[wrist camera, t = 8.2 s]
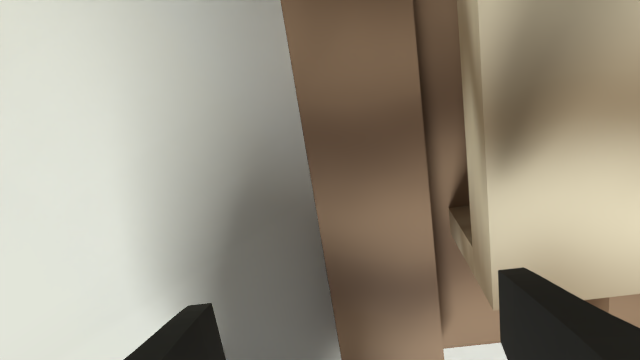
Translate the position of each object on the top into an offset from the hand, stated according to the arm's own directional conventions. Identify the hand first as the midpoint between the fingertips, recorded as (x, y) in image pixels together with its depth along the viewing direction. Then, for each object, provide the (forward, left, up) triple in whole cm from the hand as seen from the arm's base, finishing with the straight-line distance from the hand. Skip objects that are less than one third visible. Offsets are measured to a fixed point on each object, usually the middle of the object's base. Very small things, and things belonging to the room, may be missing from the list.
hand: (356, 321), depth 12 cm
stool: (+5, -7, -9) cm, 12 cm away
